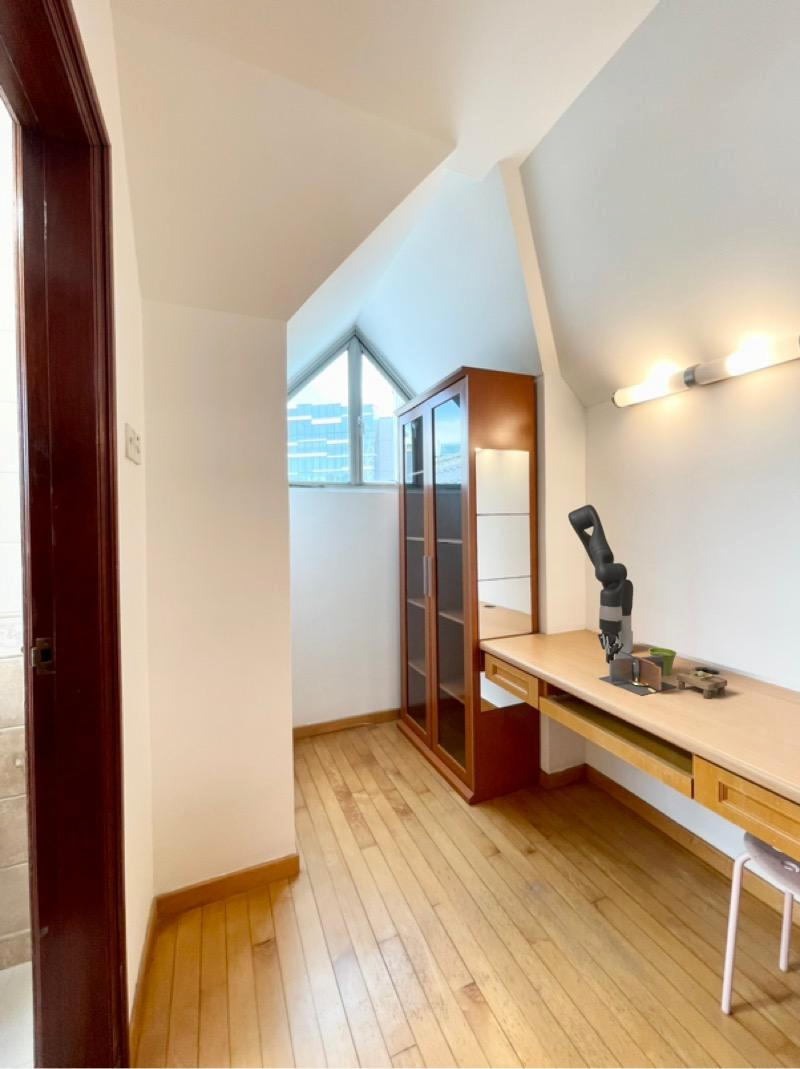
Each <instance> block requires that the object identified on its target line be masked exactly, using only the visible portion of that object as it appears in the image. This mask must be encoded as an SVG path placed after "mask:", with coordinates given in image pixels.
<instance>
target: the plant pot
mask: <svg viewBox="0 0 800 1069" xmlns="http://www.w3.org/2000/svg"><path fill="white" fill-rule="evenodd" d="M648 652H649V654H650V656H659V655H662V656H663V676H670V675H672V673H673V666H674V660H675V658H676V656H677V654H678V653H677V652H676V651H675V650H673V649H669V648H664V647H651V648H648Z"/></svg>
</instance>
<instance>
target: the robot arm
mask: <svg viewBox="0 0 800 1069" xmlns="http://www.w3.org/2000/svg"><path fill="white" fill-rule="evenodd" d="M567 516H568V521H569V523H570V525H571V526H572V528H573V530H574V532H575V533H576V535H577V537H578V539H579V540H580V542H581V543H582V545H583V547H584V550H585V552H586V553H587V556H588V559H590V562H591V563H592V565H593V567H594V575H595V576H594V577H595V579H596V580H598V581H599V582H600V583H601V586H602V588H603V589H601V590H600V593H599V595H600V598H599V609H598V610H599V611H598V612H599V614H598V616H599V617H598V618H599V619H598V620H599V621H598V624H599V625H598V628H599V629H600V630H601V633H598V634H597V637H598V640H599V642H600V646H601V648H602V650H604V652H605V658H606V659H605V662H606V663H607V664H608V665H609V660H615V654H618V653H619V652H620V651H622V652H625V653H627V654H630V655H631V653H632V652H633V651H634V631H633V630H632V612H633V611H632V610H633V604H634V603H633V602H634V584H633V582H632V581H631V579H627V578H628V569H627V567H626V566H625V565H624V563H622V562H615V555H614V553H613V551H612V549H611V547H610V545H609V542H608V540H607V537H606V534H605V530H604V528H603V523H602V521H601V519H600V516H599V514H598V512H597V510H596V508H595V507H594V506H593V505H592V504H587V505H584V506H583V505H582V506H581V507H579V508H577V509H574V510H572V511H570V512H569V513H568V514H567ZM592 527H593V530H592V532H591V535H590V533H588V532H586V530H588V529H590V528H592Z"/></svg>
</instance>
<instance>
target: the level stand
mask: <svg viewBox="0 0 800 1069" xmlns="http://www.w3.org/2000/svg"><path fill="white" fill-rule="evenodd" d="M675 679H676V681H678V683H677V684H678V685H677V686H678V687H677V688H678V689H679V690H682V691H685V690H686V684H687V685H690V686H692V687H697V688H699V689H702V695H703V699H707V700H710V699H711V697H712V696H711V695H712V694H711V691H713V690H717V694H718V695H721V696H725V692H726V687H727V686H728V679H724V678H721V677H718V676H715V675H714V674H711V673H707V672H706V671H703V670H689V671H686V672H681V673H678V674H676V676H675Z"/></svg>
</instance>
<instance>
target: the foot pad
mask: <svg viewBox="0 0 800 1069" xmlns="http://www.w3.org/2000/svg"><path fill="white" fill-rule="evenodd" d="M598 679H599V680H601V681H603V682H606V683H607V684H611V685H613V686H615V687H618V688H621V689H623V690H626V691H628V692H630V693H633V694H636V695H638V696H640V697H643V696H648V695H651V694H654V693H660V692H664V691H668V690H672V689H676V688H678V687H677V686H678V685H673V684H671V683H669V682H665V681H662V680H661V690H657V689H655V688H653V687H651V686H637V685H633V684H631V683H630V682H629V680H627V681H618V682H610V681H609V675H607V676H603V677H599V678H598Z"/></svg>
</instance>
